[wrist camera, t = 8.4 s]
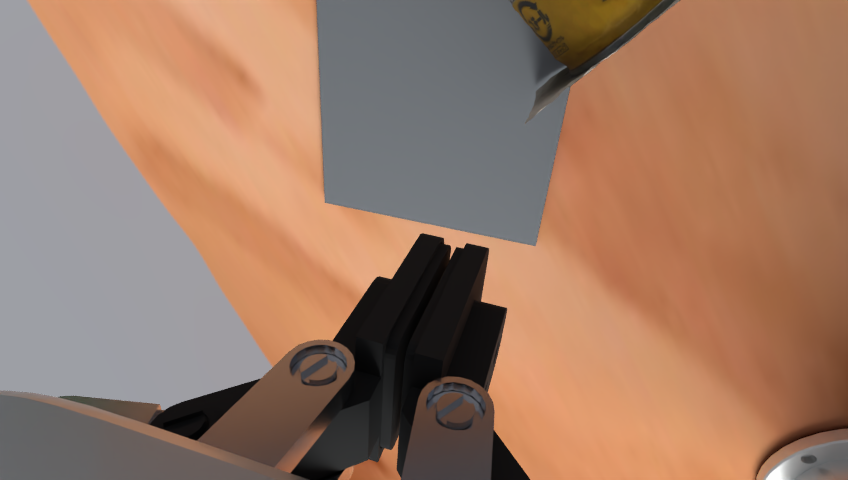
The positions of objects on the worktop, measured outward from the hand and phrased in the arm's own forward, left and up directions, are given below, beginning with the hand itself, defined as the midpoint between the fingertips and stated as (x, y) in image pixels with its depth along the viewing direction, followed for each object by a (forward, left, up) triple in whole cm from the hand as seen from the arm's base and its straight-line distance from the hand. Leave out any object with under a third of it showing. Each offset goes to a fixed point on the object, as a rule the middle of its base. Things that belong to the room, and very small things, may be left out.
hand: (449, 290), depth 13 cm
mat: (0, +5, -19) cm, 19 cm away
